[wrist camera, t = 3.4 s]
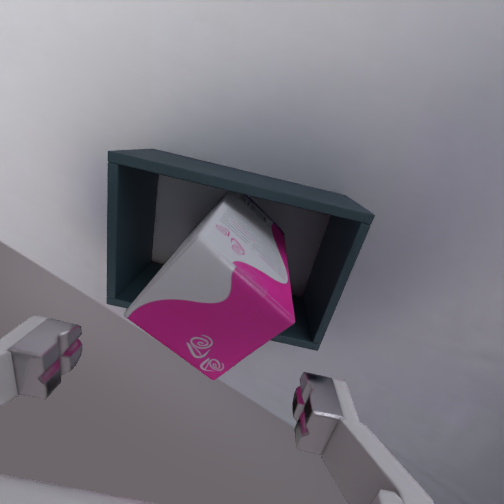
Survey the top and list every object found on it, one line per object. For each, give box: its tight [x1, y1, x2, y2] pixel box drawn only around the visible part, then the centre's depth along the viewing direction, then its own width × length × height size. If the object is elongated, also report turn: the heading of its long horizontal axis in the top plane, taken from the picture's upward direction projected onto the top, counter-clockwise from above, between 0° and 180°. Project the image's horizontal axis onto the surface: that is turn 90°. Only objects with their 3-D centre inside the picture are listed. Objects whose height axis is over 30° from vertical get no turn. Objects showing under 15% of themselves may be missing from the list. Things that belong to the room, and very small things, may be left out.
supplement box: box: [124, 191, 295, 380], centre depth 17 cm, size 6×6×12 cm
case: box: [107, 149, 375, 350], centre depth 19 cm, size 15×10×6 cm
